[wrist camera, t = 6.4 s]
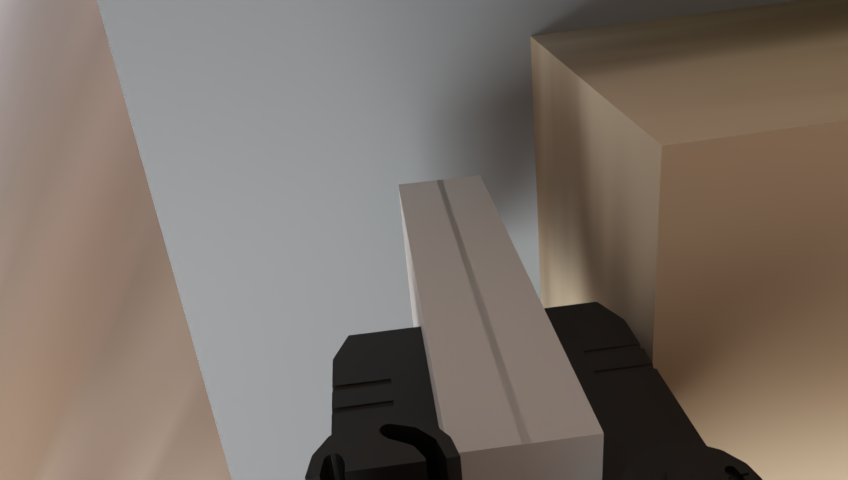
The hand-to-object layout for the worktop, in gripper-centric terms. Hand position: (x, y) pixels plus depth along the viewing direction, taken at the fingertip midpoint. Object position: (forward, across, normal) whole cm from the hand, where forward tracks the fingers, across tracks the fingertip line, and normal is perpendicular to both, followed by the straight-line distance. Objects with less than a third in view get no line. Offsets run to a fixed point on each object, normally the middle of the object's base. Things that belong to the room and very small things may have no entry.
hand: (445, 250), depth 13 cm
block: (+2, +5, 0) cm, 5 cm away
